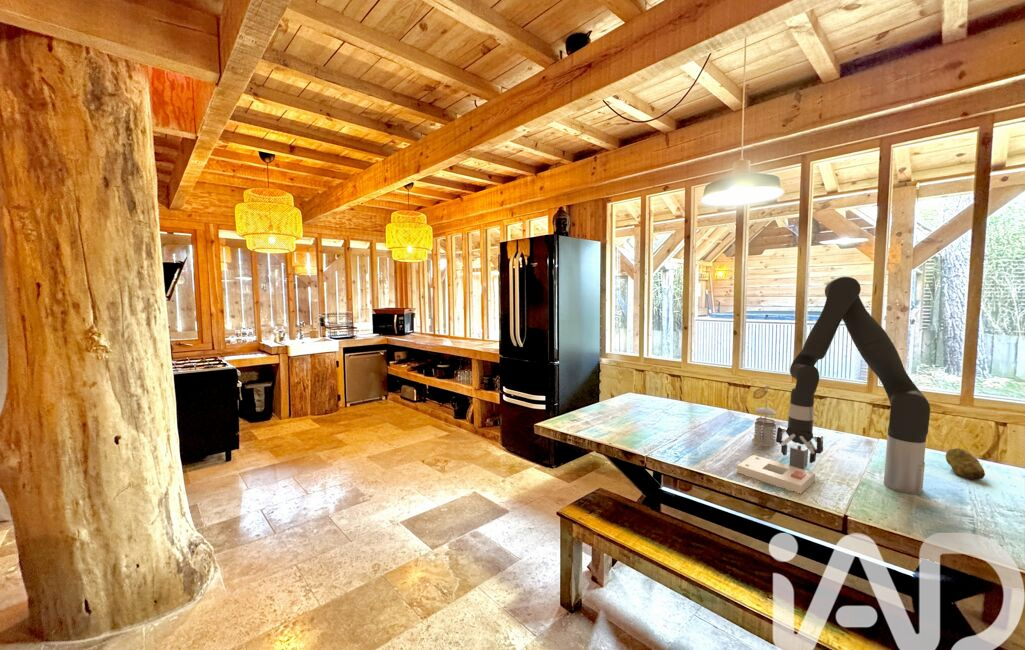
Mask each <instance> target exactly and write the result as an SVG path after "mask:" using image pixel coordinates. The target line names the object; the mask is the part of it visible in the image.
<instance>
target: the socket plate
mask: <svg viewBox="0 0 1025 650" xmlns="http://www.w3.org/2000/svg"><path fill="white" fill-rule="evenodd" d="M737 472H738V473H741V474H744V475H747V476H749V477H748V478H750V477H752V478H751V479H753V478H755V479H754V480H756V479H758V480H757V481H759V480H761V481H760V482H763V481H764V482H763V483H766V482H767V483H766V484H769V483H770V484H769V485H772V484H773V485H772V486H775V485H777V486H776V487H778V486H780V487H779V488H781V487H783V488H782V489H784V488H786V489H785V490H787V489H789V490H788V491H790V490H791V491H790V492H793V491H795V492H794V493H796V492H797V493H796V494H799V493H800V494H799V495H802V494H803V493H804V492H805V491H806V490H807V489H808V488H809V487H810V486H811V485H812V484H814V482H815V481H816V473H815V472H813V471H810V470H808V469H807V470H806V469H804V470H803V469H800V468H796V467H793V466H790V465H789V464H786V463H783V462H779V461H775V460H773V459H768V458H765V457H762V456H758V455H755V454H752V455H751V456H748V458H746V459H744V460H743V461H741V462H740V463H738V464H737V465H736V473H737ZM738 473H737V474H738ZM741 474H740V475H741ZM744 475H743V476H744ZM747 476H746V477H747ZM806 488H807V489H806ZM804 490H805V491H804ZM803 491H804V492H803ZM802 492H803V493H802ZM801 493H802V494H801Z"/></svg>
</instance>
